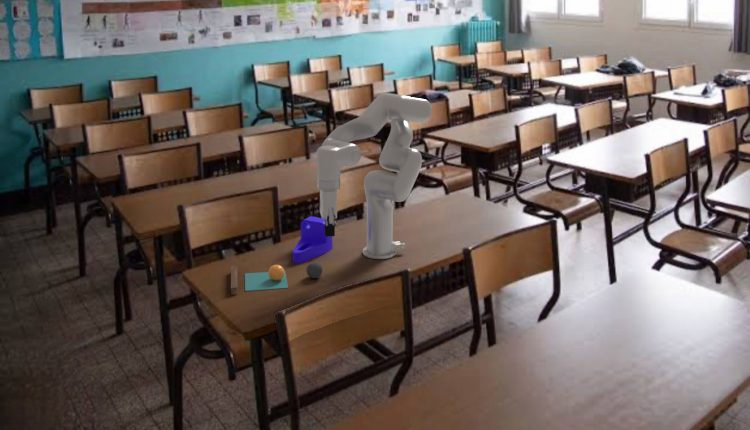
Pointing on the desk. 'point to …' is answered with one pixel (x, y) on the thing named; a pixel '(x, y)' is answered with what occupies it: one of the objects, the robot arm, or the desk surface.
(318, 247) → the bracket
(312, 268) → the grey ball
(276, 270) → the orange ball
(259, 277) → the teal mark
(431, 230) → the desk surface
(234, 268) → the wooden bar
